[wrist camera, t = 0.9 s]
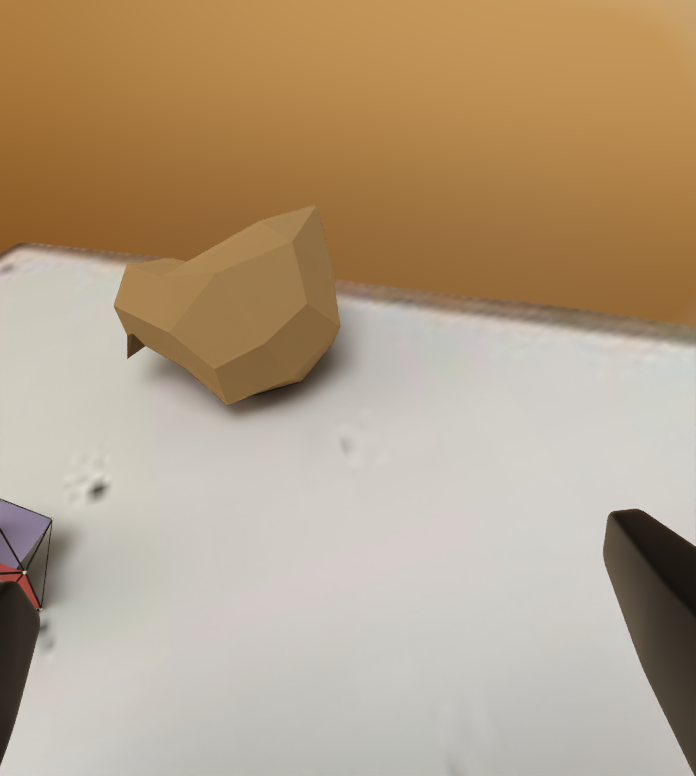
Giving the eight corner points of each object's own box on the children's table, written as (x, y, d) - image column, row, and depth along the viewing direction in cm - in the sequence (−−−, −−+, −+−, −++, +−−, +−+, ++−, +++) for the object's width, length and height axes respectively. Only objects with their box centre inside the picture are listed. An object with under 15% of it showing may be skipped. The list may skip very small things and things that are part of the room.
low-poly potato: (398, 351, 38) (321, 222, 41) (375, 283, 27) (274, 117, 31) (205, 462, 38) (145, 325, 42) (110, 435, 28) (41, 257, 32)
